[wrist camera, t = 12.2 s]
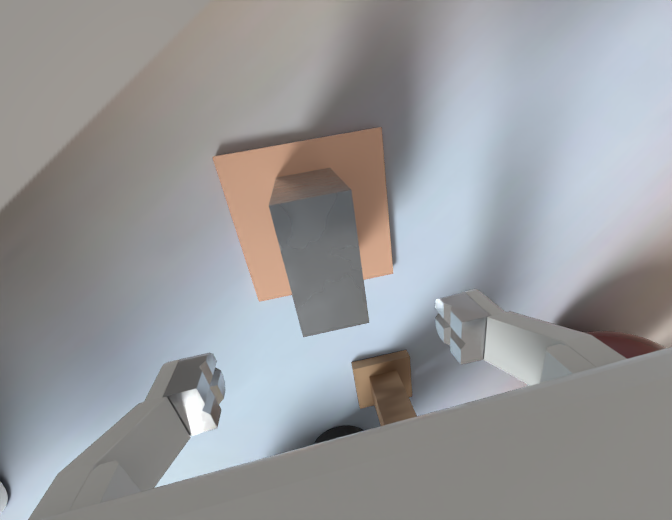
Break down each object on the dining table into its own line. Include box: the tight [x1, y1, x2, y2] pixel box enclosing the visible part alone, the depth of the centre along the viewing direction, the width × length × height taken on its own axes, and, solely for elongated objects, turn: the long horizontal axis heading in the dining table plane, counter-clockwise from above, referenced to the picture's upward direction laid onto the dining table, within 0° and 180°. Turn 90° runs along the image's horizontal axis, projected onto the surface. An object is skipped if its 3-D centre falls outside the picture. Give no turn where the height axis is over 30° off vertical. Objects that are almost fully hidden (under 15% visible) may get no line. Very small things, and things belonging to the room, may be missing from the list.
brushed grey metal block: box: [269, 168, 369, 337], centre depth 19 cm, size 8×4×8 cm, turn 9°
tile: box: [212, 127, 393, 302], centre depth 23 cm, size 12×12×1 cm
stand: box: [351, 350, 417, 426], centre depth 23 cm, size 6×16×16 cm, turn 9°
